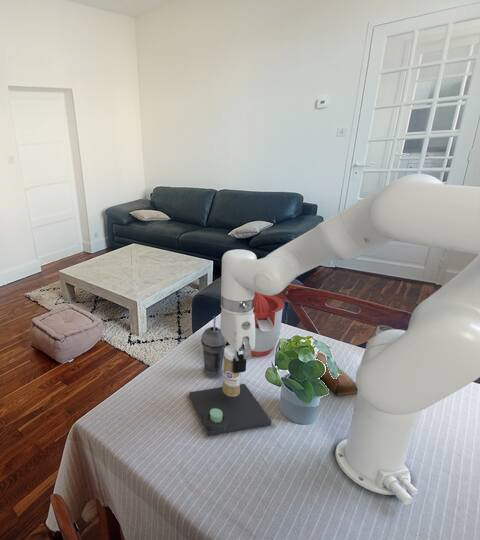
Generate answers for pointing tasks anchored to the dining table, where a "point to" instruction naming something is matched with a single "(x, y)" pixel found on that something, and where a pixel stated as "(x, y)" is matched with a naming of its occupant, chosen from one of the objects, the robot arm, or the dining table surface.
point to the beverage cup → (213, 350)
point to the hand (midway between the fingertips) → (234, 364)
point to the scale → (229, 410)
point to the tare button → (216, 415)
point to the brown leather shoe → (337, 380)
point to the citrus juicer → (266, 323)
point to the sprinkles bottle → (230, 374)
